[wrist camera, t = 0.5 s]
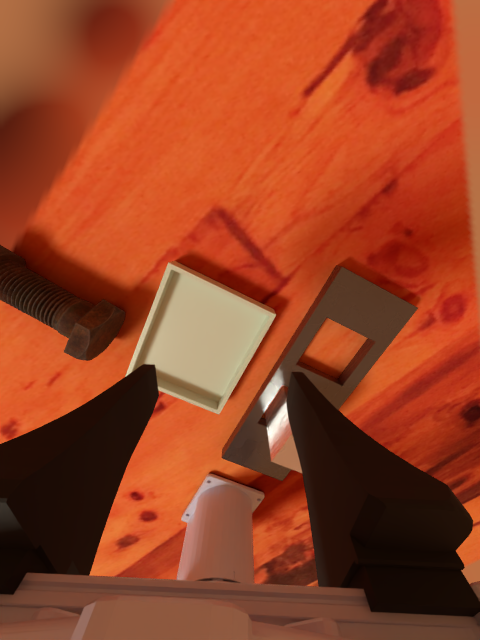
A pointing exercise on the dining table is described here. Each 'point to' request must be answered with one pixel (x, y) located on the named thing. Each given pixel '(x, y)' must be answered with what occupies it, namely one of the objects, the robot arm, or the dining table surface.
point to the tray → (200, 337)
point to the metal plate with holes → (346, 309)
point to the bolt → (59, 308)
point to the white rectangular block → (281, 433)
